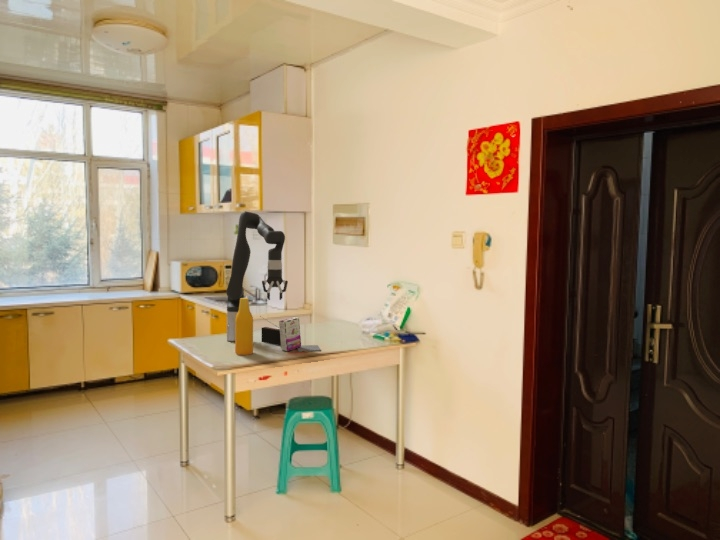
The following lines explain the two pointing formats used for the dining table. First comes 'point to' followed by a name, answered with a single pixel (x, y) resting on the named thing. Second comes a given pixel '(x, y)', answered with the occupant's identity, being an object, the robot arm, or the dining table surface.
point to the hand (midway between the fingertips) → (274, 299)
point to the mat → (309, 348)
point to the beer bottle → (244, 329)
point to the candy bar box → (290, 334)
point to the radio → (271, 335)
